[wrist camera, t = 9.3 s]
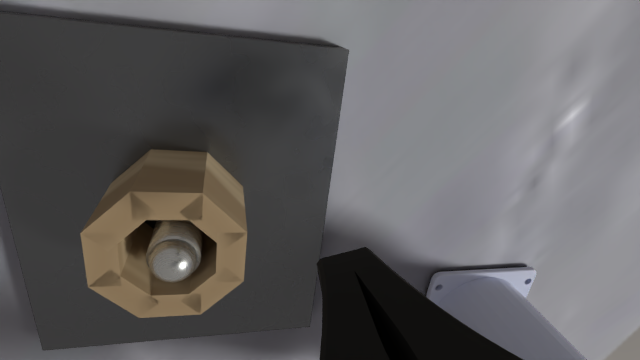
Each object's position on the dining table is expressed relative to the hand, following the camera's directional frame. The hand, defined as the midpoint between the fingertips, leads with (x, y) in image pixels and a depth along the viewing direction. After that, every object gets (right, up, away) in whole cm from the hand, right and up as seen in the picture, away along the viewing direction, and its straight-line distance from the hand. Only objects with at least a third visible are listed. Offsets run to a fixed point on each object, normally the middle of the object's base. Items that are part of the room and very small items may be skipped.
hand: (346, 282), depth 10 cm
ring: (-7, +1, +8) cm, 11 cm away
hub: (-7, +2, +9) cm, 11 cm away
